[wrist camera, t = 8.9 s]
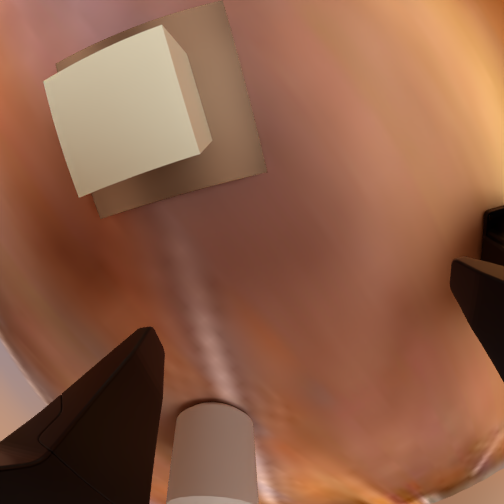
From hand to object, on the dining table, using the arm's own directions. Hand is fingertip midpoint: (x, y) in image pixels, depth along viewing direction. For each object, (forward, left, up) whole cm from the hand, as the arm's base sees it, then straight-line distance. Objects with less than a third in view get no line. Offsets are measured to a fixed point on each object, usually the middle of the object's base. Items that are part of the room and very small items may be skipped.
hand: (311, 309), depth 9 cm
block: (+5, -7, -10) cm, 13 cm away
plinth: (+5, -7, -13) cm, 15 cm away
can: (+10, +20, -13) cm, 26 cm away
